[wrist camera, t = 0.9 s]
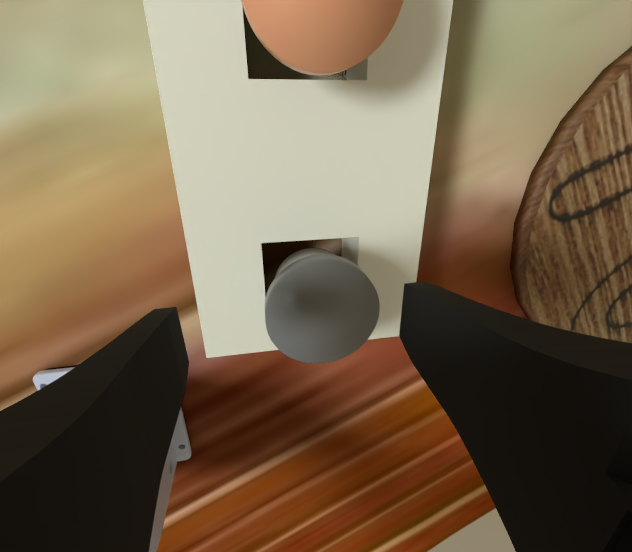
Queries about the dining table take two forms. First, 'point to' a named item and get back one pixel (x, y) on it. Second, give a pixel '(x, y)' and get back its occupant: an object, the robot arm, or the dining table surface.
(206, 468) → the dining table surface
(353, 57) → the button
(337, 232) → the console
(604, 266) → the trivet
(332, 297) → the button
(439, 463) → the dining table surface
